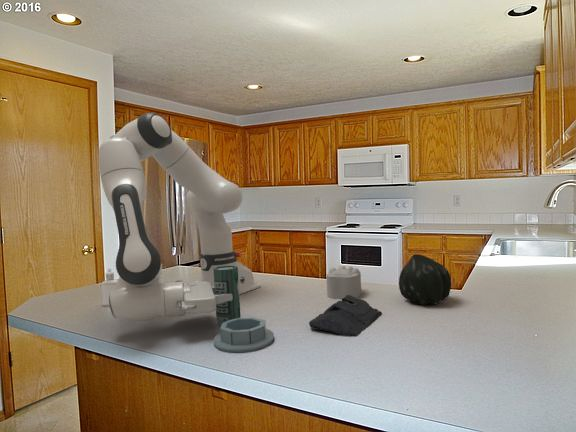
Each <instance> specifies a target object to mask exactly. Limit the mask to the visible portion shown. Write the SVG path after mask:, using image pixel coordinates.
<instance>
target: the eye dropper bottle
mask: <svg viewBox="0 0 576 432" xmlns="http://www.w3.org/2000/svg"><path fill="white" fill-rule="evenodd" d="M117 281H118V279H116V278H115V275H114V272H113V271H112V269H111V268H108V269H107V272H106V273H105V279H104V281H102V282H101V284H100V286H101V287H100V288H101V291H100V292H101V300H102V301H101V302H102V306H104V307H110V305H109V293H110V292H111V291H112V290H113V288H114V287H115V285H116V283H117Z"/></svg>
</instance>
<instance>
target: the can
mask: <svg viewBox="0 0 576 432" xmlns="http://www.w3.org/2000/svg"><path fill="white" fill-rule="evenodd" d="M213 270H214V286H215V295H222V294H225V293H231V294H232V296H233V300H232V301H226V302H223V303H221V304H216V310H215V312H216V313H215V315H216V325H217V326H218V327H221V325H222V323H224V322H226V321H229V320H232V319H235V318H237V319H238V318H242V317H241V303H240V294H239V282H238V267H237V266H219V267H215V268H213Z"/></svg>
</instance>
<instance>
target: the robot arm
mask: <svg viewBox="0 0 576 432" xmlns="http://www.w3.org/2000/svg"><path fill="white" fill-rule="evenodd" d="M150 157H153V158H154V160H155V161H156V162H157V163H158V165H159V166H160V167H161V168H162V169H163V170H164V171H165V172H166V173H167V174H168V175H169V176H170V177H171V178H172V179H173V180H174V181H175V183H176V184H177V185H179V186H180V187H182V188H184V189H185V190H188V192H187V195H186V202H187V205H188V206H189V208H190V209H191V210H192V212H193V216H194V217H195V218H194V219H195V221H196V224H197V227H198V232H199V244H200V253H199V264H200V269H201V277H200V278H201V279H200V280H199V281H197V280H196V281H185V282H184V281H183V280H181V279H180V280H176V281H173V282H165V283H162V282H161V276H162V274H163V264H162V260H161V256H160V253H159V251H158V250H157V248H156V247H155V246H154V244H153V243H152V242H151V241H150V240H149V236H148V235H147V229H146V224H145V221H144V220H145V219H144V216H143V211H142V210H143V209H142V208H143V207H142V206H143V202H144V201H145V200H146V198H147V186H146V185H147V184H146V176H145V172H144V168H143V165H142V162H144V161H146V160H148V159H149V158H150ZM98 166H99V167H98V168H99V175H100V180H101V184H102V188H103V192H104V195H105V197H106V199H107V201H108V203H109V205H110V206H111V207H112V210H113V212H114V216H115V221H116V227H117V234H118V239H119V247H118V249H117V250H118V251H117V255H116V258H115V269H116V272H117V274H118V276H119V277H118V279H117V280H118V281H117V283H116V285H115V287H114V288H113V290H112V291H111V292H110V293H109V305H110V306H109V309H110V312H111V314H112V317H114V318H115V319H116V320H117V321H119V322H126V323H127V322H128V323H129V322H130V323H131V322H142V321H145V322H146V321H150V320H152V319H156V318H161V319H166V318H176V317H177V318H178V317H184V316H185V315H186V314H188V315H189V314H190V315H191V314H192V315H193V314H194V315H195V314H206V313H213V312H216V304H221V303H223V302H226V301H232V300H233V296H232V294H231V293H225V294H222V295H215V286H214V270H213V268H215V267H219V266H237V267H238V282H239V295H241V294H245V293H246V292H250V291H252V290H257V289H258V288H261V283H259V282H258V281H255V279H254V275H253V271H252V270H251V269H250V268H249V267H247V266H245V265H244V264H243V263H241V262H240V261H239V260H238V258H242V257H243V255H244V254H243V252H242V251H236V252H235V251H234V249H233V234H232V229H231V227H230V226H229V224H228V223H227V221H226V219H225V216H224V215H225V214H228V213H230V212H234V211H235V210H238V208H240V206H241V204H242V202H243V192H242V189H241V188H240V187H239V186H238V185H237V184H236V183H234V182H232V181H229V180H227V179H226V178H224V177H223V176H221V175H220V174H219V173H218V172H216V171H215V170H214V169H212V168H211V167H210V166H209V165H207V164H206V163H205V162H204V161H203V160H202V159H201V158H200V156H198V155H197V154H196V152H194V150H193V149H192V148H191V147H190V146H189V145H188V143H187V142H185V141H184V139H182V138H181V137H180V136H179V135H178V134H177V133H176V132H174V131H173V130H172V129H171V126H170V124H169V122H168V121H167V119H165V118H164V117H163V116H162V115H160V114H158V113H156V112H152V111H151V112H147V113H143V114H142V115H140V116H138V117H137V118H135V119H134V120H132V121H130V122H127V123H126V124H125V125H124V126H123V127H122V128H121V129H119V130H118V131H117V132H116V133H114V135H112V136H110V137H109V138H108V139H106V140H104V141H103V142H102V143H101V144H100V146H99V149H98Z"/></svg>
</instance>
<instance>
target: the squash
mask: <svg viewBox="0 0 576 432" xmlns="http://www.w3.org/2000/svg"><path fill="white" fill-rule="evenodd" d="M412 254H413V253H412ZM398 278H399V279H398V288H399V291H400V294H401V297H403V298H404V299H406V300H407V301H409V302H410V303H413V304H421V305H424V306H425V305H428V304H430V305H437V304H439V303H440V302H441V301H443V300H446V299H447V298H448V297H449V296H450V293H451V287H452V278H451V274H450V272H449V270H448V269H447V268H446V267H445V265H443V264H441V263H439V262H438V261H436V260H435V259H432V258H430V257H428V256H426V255H422V254H418V253H414V254H413V255H411V257H410V258H409V260H408V261H407V263H406V264H405V265H404V266H403V268H402V270H401V272H400V275H399V277H398Z"/></svg>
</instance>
